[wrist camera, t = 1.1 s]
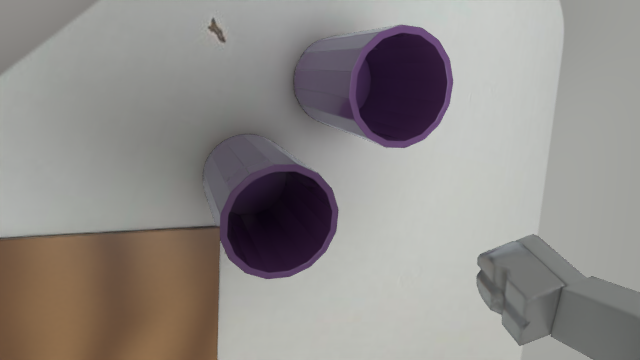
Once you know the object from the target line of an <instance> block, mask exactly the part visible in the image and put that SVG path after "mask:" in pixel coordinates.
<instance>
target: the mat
mask: <svg viewBox="0 0 640 360" xmlns="http://www.w3.org/2000/svg"><path fill="white" fill-rule="evenodd" d="M219 255H220V238H219V235H218V232H217V228H216V227H201V228H182V229H164V230H146V231H127V232H109V233H91V234H72V235H54V236H36V237H17V238H0V360H217V340H218V298H219Z"/></svg>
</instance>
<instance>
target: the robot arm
mask: <svg viewBox="0 0 640 360" xmlns="http://www.w3.org/2000/svg"><path fill="white" fill-rule="evenodd" d="M477 265H478V266H479V267H480V268H481V270H480V272H479V273H478V274H477V287H478V290H479V293H480V295H481V297H482V299H483V300H484V302H485V303H486V305H487V306H488V307H489V308H490V310H492V311H494V312H497V313H499V314H501V315H502V325H503V326H504V327H505V328H506V330H507V331H508V332H509V333H510V335H511V336H512V337H513V338H514V340H515V341H516V342H517V343H518V345H519V346H521V345H524V344H526V343H529V342H532V341H534V340H537V339H539V338H542V337H545V336H547V335H550V334H551V337H553V338H555V339H556V340H558V341H560V342H562V343H564V344H566V345H568V346H569V347H571V348H573V349H575V350H577V351H578V352H581V353H582V354H584V355H586V356H588V357H590V358H591V359H593V360H640V292H637V291H634V290H631V289H628V288H625V287H622V286H619V285H616V284H613V283H611V282H608V281H605V280H602V279H599V278H596V277H593V276H591V277H589V278H586V277H585V276H584V275H583V274H582V273H580V272H579V271H578V270H577V269H576V268H574V267H573V266H572V265H571V264H570V263H569V262H567V261H566V260H565V259H564V258H563V257H562V256H560V255H559V254H558V253H557V252H556V251H555V250H554V249H552V248H551V247H550V246H549V245H548V244H547V243H545V242H544V241H543V240H542V239H541V238H540V237H539V236H536V235H534V234H532V235H529V236H526V237H524V238H521V239H519V240H516V241H512V242H509V243H507V244H504V245H502V246H499V247H497V248H494V249H492V250H489V251H487V252H484V253H481V254H480V255H479V256H478V260H477Z"/></svg>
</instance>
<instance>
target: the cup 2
mask: <svg viewBox="0 0 640 360" xmlns="http://www.w3.org/2000/svg"><path fill="white" fill-rule="evenodd" d="M452 86H453V77H452V71H451V64H450V60H449V57H448V55H447V54H446V52H445V50H444V48H443V46H442V45H441V43H440V41H439V40H438V39H437V38H435V37H434V36H432V35H431V34H430V33H428V32H427V31H426V30H424V29H423V28H420V27H414V26H407V25H396V26H390V27H384V28H378V29H372V30H366V31H360V32H354V33H347V34H341V35H335V36H331V37H328V38H324V39H321V40H318V41H316V42H315V43H313V44H312V45H311V46H309V47H308V48H307V49H306V50H305V51H304V53H303V54H302V55H301V57H300V59H299V61H298V63H297V66H296V69H295V74H294V90H295V94H296V97H297V100H298V102H299V104H300V106H301V107H302V109H303V110H304V111H305V112H306V113H307V114H308V115H309V116H310V117H311V118H313V119H315V120H317V121H319V122H321V123H323V124H325V125H328V126H330V127H333V128H336V129H338V130H341V131H344V132H346V133H349V134H352V135H354V136H357V137H359V138H362V139H365V140H367V141H370V142H373V143H375V144H378V145H381V146H383V147H391V148H405V147H408V146H410V145H413V144H415V143H417V142H420V141H422V140H423V139H425V138H426V137H427V136H428V135H429V134H430V133H431V132H432V131H433V130H434V129H435V128H436V127H437V126H438V125H439V124H440V122H441V120H442V118H443V116H444V114H445V112H446V110H447V108H448V106H449V104H450V98H451V92H452Z"/></svg>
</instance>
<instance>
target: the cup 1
mask: <svg viewBox="0 0 640 360" xmlns="http://www.w3.org/2000/svg"><path fill="white" fill-rule="evenodd" d="M203 187H204V191H205V194H206V197H207V200H208V203H209V207H210V210H211V213H212V216H213V219H214V222H215V225H216V228H217V232H218V235H219V238H220V240H221V243H222V245H223V247H224V249H225V252H226V254H227V256H228V258H229V260H231V261H232V262H233V263H234V264H235V265H237V266H238V267H239V268H240V269H241V270H242V271H244V272H245V273H247V274H251V275H254V276H258V277H261V278H265V279H273V278H283V277H289V276H292V275H294V274H296V273H298V272H300V271H303V270H305V269H307V268H309V267H310V266H312V265H313V264H314V263H315V262H316V261H317V260H318V259H319V258H320V257H321V256H322V255H323V254H324V253H325V252H326V250H327V249H328V247H329V245H330V243H331V241H332V239H333V237H334V235H335V233H336V229H337V219H338V206H337V203H336V200H335V196H334V193H333V190H332V188H331V187H330V186H329V185H328V184H327V183H326V182H325V180H324V179H323V178H322V177H321V176H320V175H319V174H318V173H317V172H315V171H314V170H313V169H311V168H310V167H308V166H307V165H306V164H304V163H303V162H301V161H300V160H299V159H297V158H296V157H294V156H293V155H292V154H290V153H289V152H287V151H286V150H285V149H283V148H282V147H280V146H279V145H278V144H276V143H275V142H273V141H271V140H269V139H267V138H265V137H262V136H259V135H255V134H241V135H236V136H233V137H230V138H228V139H226V140H224V141H223V142H221V143H220V144H219V145H218V146H216V147H215V149H214V150H213V151H212V152H211V153H210V155H209V157H208V158H207V160H206V163H205V166H204V170H203Z"/></svg>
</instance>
